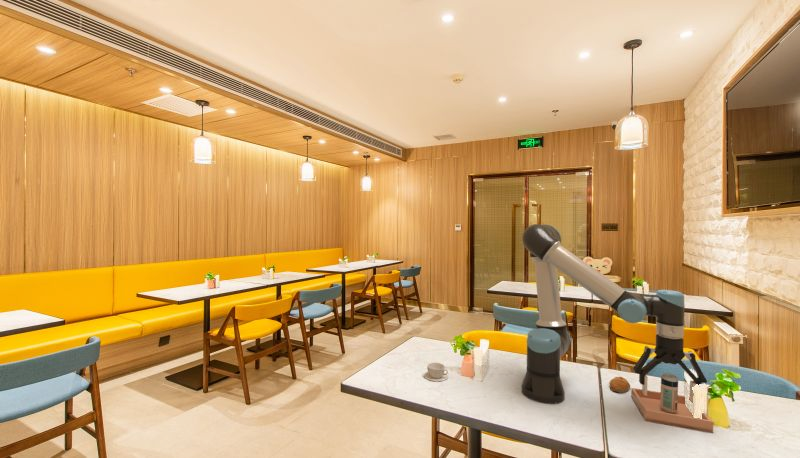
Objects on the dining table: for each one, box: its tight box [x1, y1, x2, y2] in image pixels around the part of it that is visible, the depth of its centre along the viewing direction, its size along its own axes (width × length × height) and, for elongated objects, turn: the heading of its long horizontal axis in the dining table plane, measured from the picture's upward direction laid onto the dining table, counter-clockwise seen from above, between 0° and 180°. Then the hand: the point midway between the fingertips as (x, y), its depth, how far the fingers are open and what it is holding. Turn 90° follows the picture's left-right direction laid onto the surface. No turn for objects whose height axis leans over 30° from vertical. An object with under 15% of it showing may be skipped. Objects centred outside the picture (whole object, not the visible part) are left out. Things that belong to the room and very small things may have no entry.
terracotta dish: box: [630, 387, 714, 434], centre depth 119 cm, size 18×18×4 cm
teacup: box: [423, 362, 449, 382], centre depth 145 cm, size 10×10×5 cm
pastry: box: [608, 376, 631, 394], centre depth 137 cm, size 9×7×4 cm
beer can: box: [660, 373, 679, 413], centre depth 119 cm, size 5×5×12 cm
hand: (668, 397), depth 119 cm, fingers open, 13 cm apart
